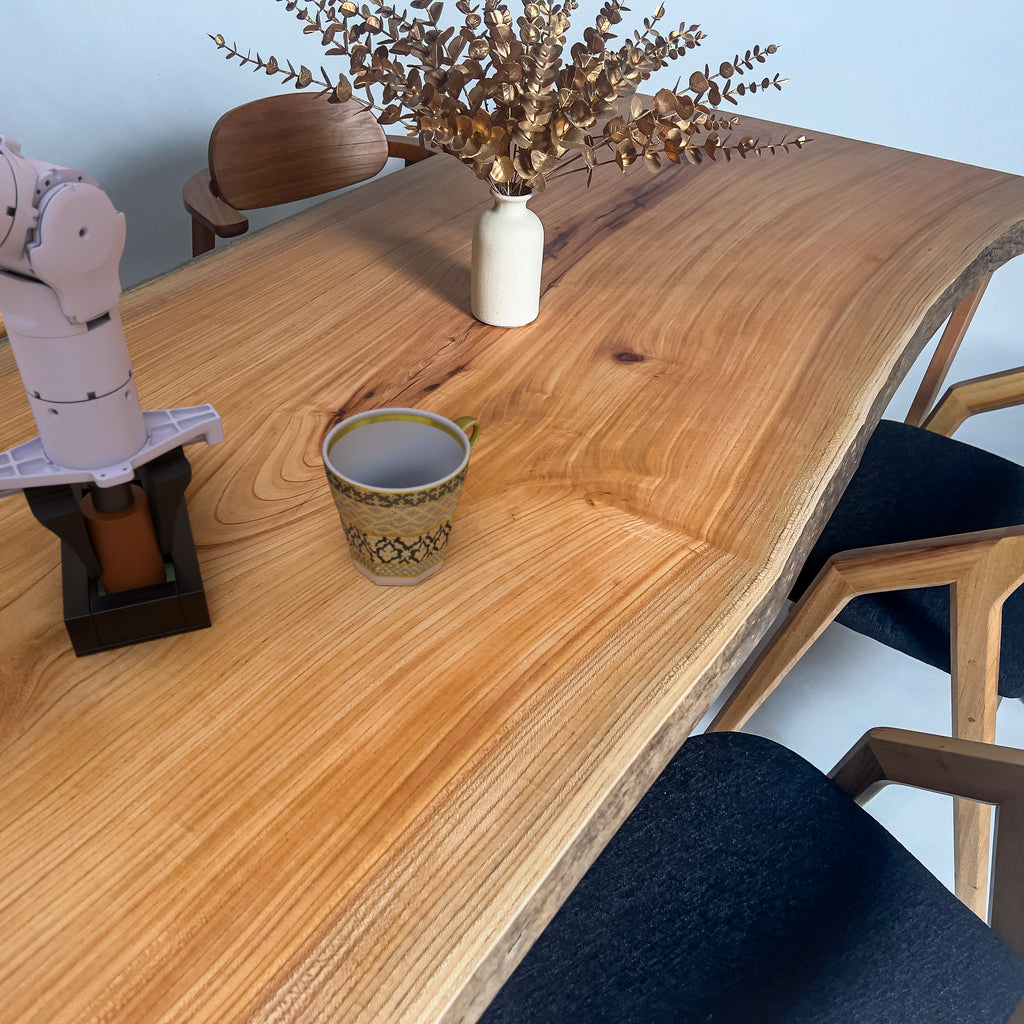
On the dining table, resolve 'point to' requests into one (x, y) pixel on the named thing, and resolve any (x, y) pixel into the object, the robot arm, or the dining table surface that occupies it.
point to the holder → (134, 596)
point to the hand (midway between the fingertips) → (128, 556)
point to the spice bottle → (123, 536)
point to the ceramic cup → (398, 488)
